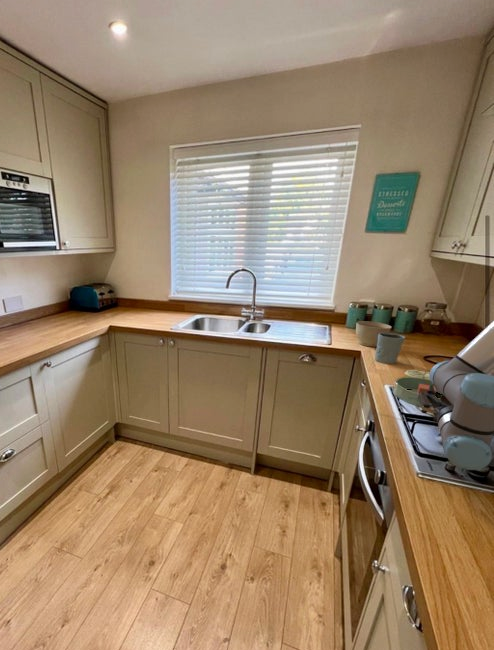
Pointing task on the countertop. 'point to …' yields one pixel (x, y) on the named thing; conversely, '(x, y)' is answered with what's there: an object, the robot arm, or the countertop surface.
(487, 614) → the countertop surface
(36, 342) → the countertop surface
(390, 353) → the blue grey cup
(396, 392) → the bowl
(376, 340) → the planter bowl
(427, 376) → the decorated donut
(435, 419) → the dark brown bar
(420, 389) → the block
